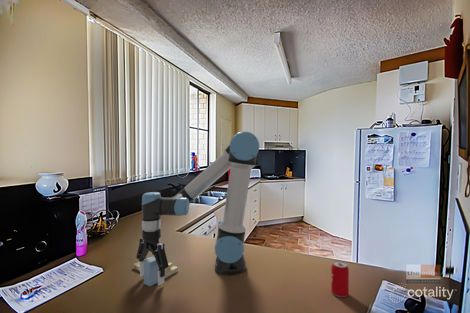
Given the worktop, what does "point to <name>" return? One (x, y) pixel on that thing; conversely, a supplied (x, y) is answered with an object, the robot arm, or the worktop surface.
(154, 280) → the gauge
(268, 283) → the worktop surface
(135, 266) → the board
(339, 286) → the beverage can
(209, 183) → the robot arm
